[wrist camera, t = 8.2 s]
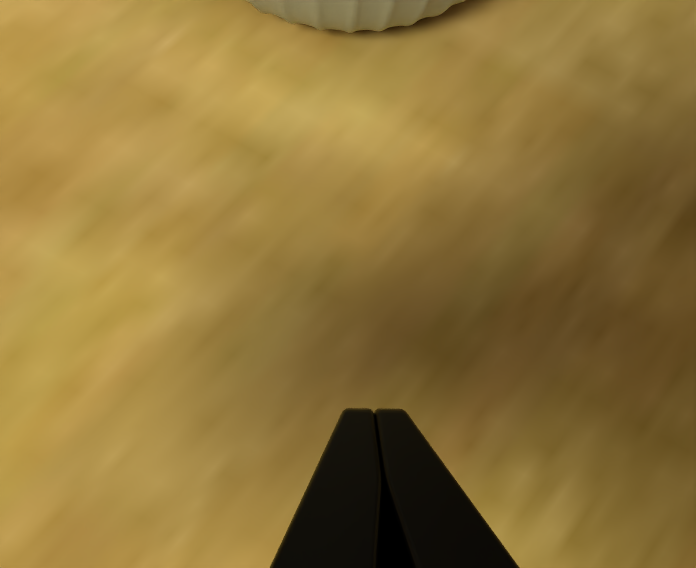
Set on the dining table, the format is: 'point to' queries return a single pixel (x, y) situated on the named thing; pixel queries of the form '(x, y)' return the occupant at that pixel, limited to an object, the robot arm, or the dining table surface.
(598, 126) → the dining table surface
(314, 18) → the canister
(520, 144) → the dining table surface
